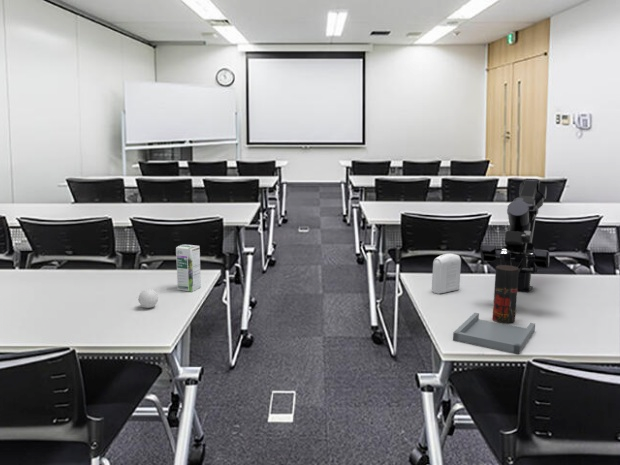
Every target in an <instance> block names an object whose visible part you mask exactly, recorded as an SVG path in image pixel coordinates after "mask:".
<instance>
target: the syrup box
mask: <svg viewBox="0 0 620 465" xmlns="http://www.w3.org/2000/svg"><path fill="white" fill-rule="evenodd" d="M200 251H201V250H200V245H193V244H180V245H178V246H176V247H175V256H176V257H175V259H176V279H177V280H176V281H177V285H176V287H177V291H186V292H195V291H196V290H199V289H200V288H202V287H201V285H202V284H201V281H202V280H201V277H202V276H201V252H200Z"/></svg>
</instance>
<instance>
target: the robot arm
mask: <svg viewBox="0 0 620 465" xmlns="http://www.w3.org/2000/svg"><path fill="white" fill-rule="evenodd" d="M547 191H548V188H547V185H546V184H545V183H543V182H541V180H540V179H538V178H524V179H523V180H522V182H521V183H520V184H519V190H518V197H515V198H514V199H513V201H511V202H510V203H509V204H508V205H507V209H506V213H507V217H508V224H509V229H508V230H506V231H505V236H504V243H503V248H502V249H501V250H498V249H497V248H496V247H497V245H496V244H486V243H484V244H482V245H481V246H480V251H479V252H480V256H481V261H482V262H489V263H494V262H495V261H497V258H499V260H500V265H509V266H515V267H518V268H519V274H518V288H517V291H520V292H527V293H529V292H530V291H531V290H532V289H533V285H531V278H532V274H537V273H538V272H539V268H541V269H542V268H543V269H548V268H549V266H550V252H549V250H547V249H538V248H535V246H534V243H533V238H534V230H535V226H536V225H535V223H536V218H537V215H538V214H539V209H540V208H541V207H543V205H544V200H546V199H547Z"/></svg>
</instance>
